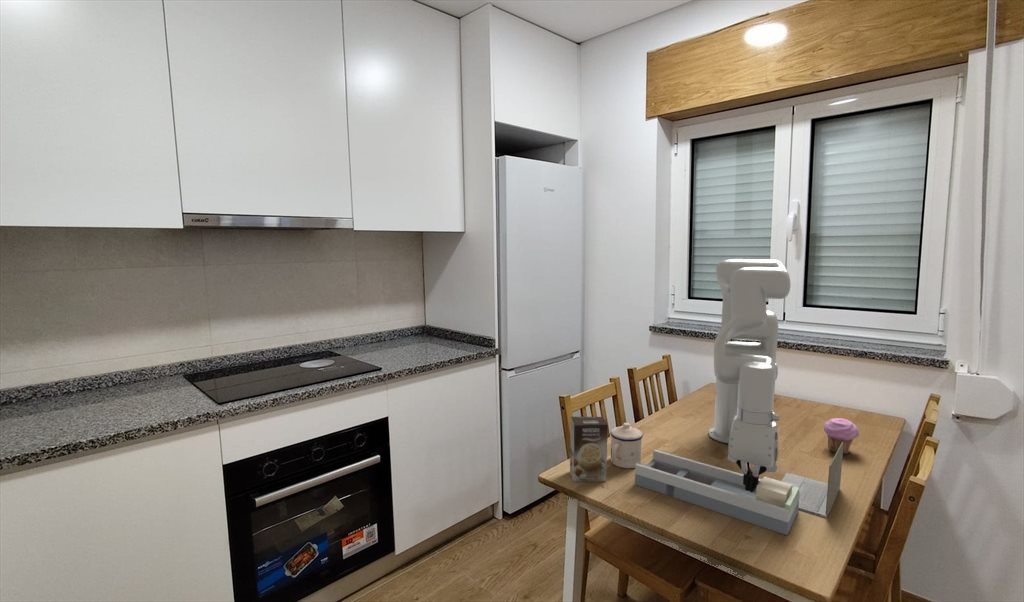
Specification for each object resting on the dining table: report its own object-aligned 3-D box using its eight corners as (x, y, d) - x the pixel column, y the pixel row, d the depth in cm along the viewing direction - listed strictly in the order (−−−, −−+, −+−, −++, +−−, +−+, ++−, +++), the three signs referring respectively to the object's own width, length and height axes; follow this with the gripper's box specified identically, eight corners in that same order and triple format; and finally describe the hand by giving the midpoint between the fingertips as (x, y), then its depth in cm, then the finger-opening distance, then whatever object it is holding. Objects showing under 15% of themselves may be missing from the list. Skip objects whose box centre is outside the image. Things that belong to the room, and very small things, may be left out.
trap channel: (654, 468, 141) (654, 446, 140) (798, 511, 118) (799, 486, 117) (635, 484, 131) (635, 461, 131) (787, 535, 109) (789, 507, 108)
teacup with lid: (619, 452, 151) (620, 415, 149) (647, 461, 145) (648, 423, 143) (598, 466, 142) (599, 427, 140) (627, 476, 136) (628, 435, 134)
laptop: (786, 474, 137) (789, 429, 135) (840, 489, 128) (844, 441, 127) (768, 501, 123) (771, 451, 122) (827, 519, 115) (831, 466, 113)
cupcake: (819, 451, 151) (821, 419, 149) (825, 442, 157) (827, 411, 156) (854, 459, 145) (857, 426, 143) (859, 450, 151) (862, 418, 150)
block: (763, 496, 119) (764, 476, 119) (791, 504, 115) (792, 484, 115) (755, 506, 115) (756, 485, 114) (784, 515, 111) (785, 494, 110)
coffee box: (573, 482, 133) (573, 425, 131) (569, 471, 139) (569, 416, 137) (607, 481, 133) (608, 424, 131) (602, 470, 139) (602, 415, 137)
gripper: (794, 418, 114) (789, 493, 116) (726, 404, 124) (722, 474, 126) (786, 427, 108) (781, 506, 111) (716, 412, 118) (712, 485, 120)
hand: (750, 489), depth 118 cm, fingers closed
